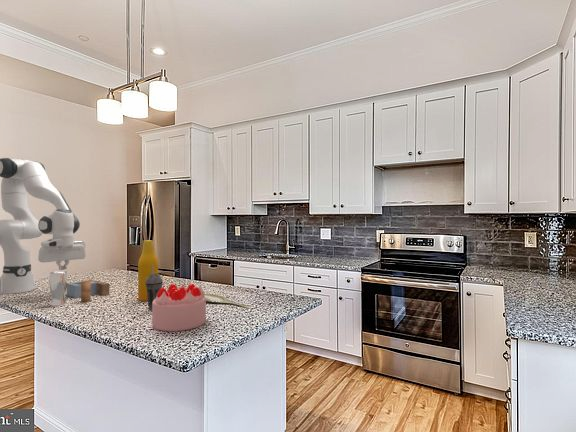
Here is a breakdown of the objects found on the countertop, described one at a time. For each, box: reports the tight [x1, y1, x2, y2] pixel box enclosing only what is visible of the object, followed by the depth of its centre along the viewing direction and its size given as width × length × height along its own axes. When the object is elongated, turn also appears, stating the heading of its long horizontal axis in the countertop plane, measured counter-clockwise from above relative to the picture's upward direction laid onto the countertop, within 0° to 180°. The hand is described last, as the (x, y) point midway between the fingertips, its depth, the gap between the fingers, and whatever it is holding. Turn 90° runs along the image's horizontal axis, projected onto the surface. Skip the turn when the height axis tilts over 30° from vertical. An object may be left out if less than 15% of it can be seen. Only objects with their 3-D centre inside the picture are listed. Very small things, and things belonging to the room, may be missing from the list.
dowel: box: [80, 279, 92, 303], centre depth 165 cm, size 4×4×10 cm
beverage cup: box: [145, 264, 164, 311], centre depth 153 cm, size 7×7×20 cm
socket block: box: [66, 281, 98, 299], centre depth 179 cm, size 10×10×6 cm
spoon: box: [204, 293, 253, 309], centre depth 163 cm, size 35×11×2 cm, turn 57°
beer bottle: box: [137, 239, 159, 302], centre depth 170 cm, size 9×9×29 cm
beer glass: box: [48, 270, 68, 307], centre depth 159 cm, size 7×7×15 cm
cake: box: [151, 283, 207, 332], centre depth 132 cm, size 20×20×14 cm
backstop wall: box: [90, 279, 110, 297], centre depth 183 cm, size 20×3×6 cm, turn 56°
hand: (62, 269), depth 172 cm, fingers closed
